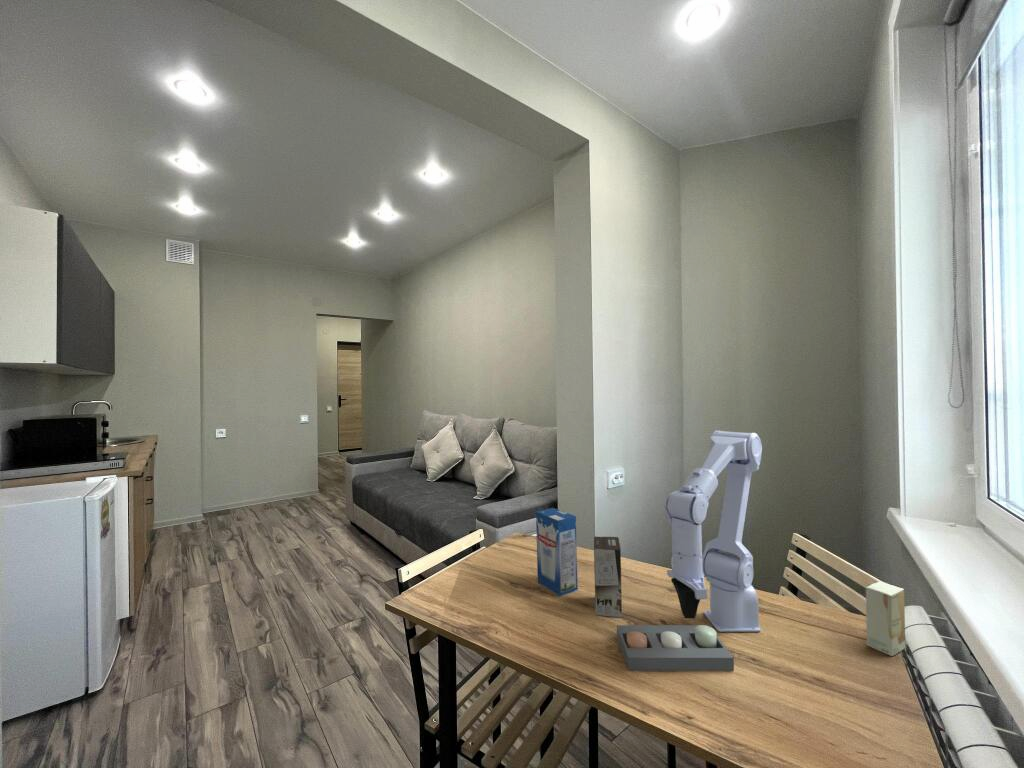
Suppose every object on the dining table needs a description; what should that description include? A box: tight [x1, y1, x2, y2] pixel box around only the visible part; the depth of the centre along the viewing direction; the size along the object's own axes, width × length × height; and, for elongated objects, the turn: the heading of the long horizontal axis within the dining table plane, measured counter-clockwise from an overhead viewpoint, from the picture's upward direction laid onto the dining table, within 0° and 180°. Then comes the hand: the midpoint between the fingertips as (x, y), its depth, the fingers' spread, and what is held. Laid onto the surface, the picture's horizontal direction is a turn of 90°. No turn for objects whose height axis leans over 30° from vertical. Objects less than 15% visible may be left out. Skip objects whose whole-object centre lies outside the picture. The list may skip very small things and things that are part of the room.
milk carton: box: [535, 507, 578, 597], centre depth 116 cm, size 10×6×20 cm, turn 33°
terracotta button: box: [627, 631, 647, 648], centre depth 87 cm, size 4×4×3 cm
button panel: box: [616, 624, 735, 672], centre depth 86 cm, size 20×11×2 cm, turn 88°
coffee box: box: [593, 536, 623, 618], centre depth 105 cm, size 9×6×16 cm
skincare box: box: [865, 580, 906, 657], centre depth 87 cm, size 6×4×12 cm
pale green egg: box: [695, 624, 717, 648], centre depth 86 cm, size 4×4×3 cm
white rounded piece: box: [661, 631, 682, 648], centre depth 86 cm, size 4×4×3 cm
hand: (688, 616), depth 86 cm, fingers closed
